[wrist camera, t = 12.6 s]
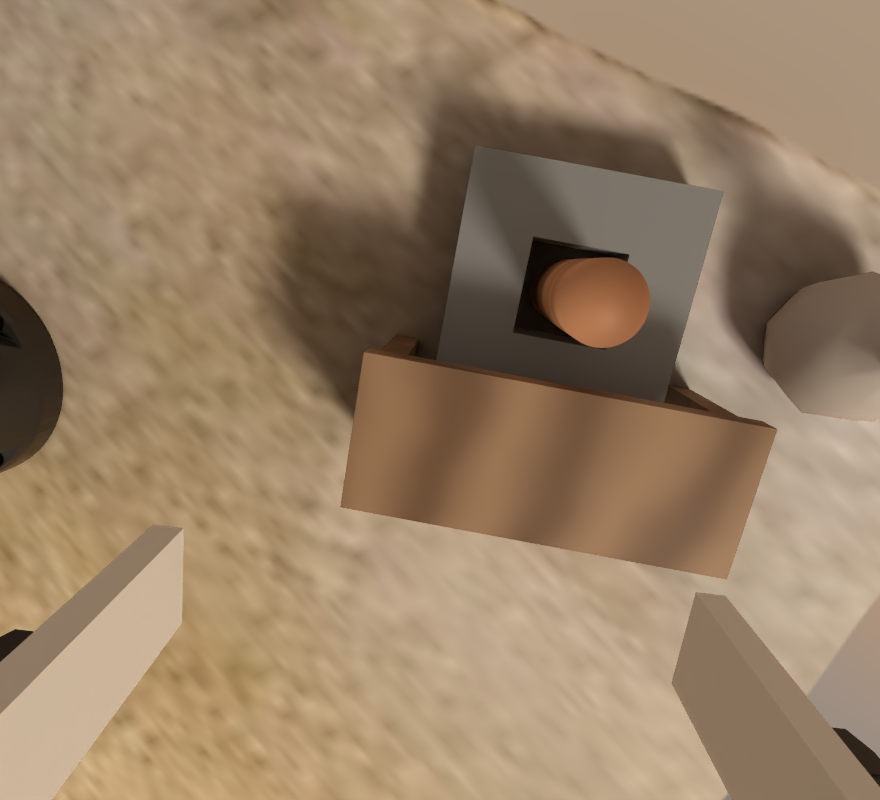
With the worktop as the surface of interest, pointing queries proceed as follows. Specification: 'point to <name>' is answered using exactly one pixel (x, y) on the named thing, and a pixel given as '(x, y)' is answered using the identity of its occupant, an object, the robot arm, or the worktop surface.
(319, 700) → the worktop surface
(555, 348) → the socket block
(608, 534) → the wooden bench
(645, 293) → the peg
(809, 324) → the potion bottle
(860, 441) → the worktop surface
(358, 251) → the worktop surface
